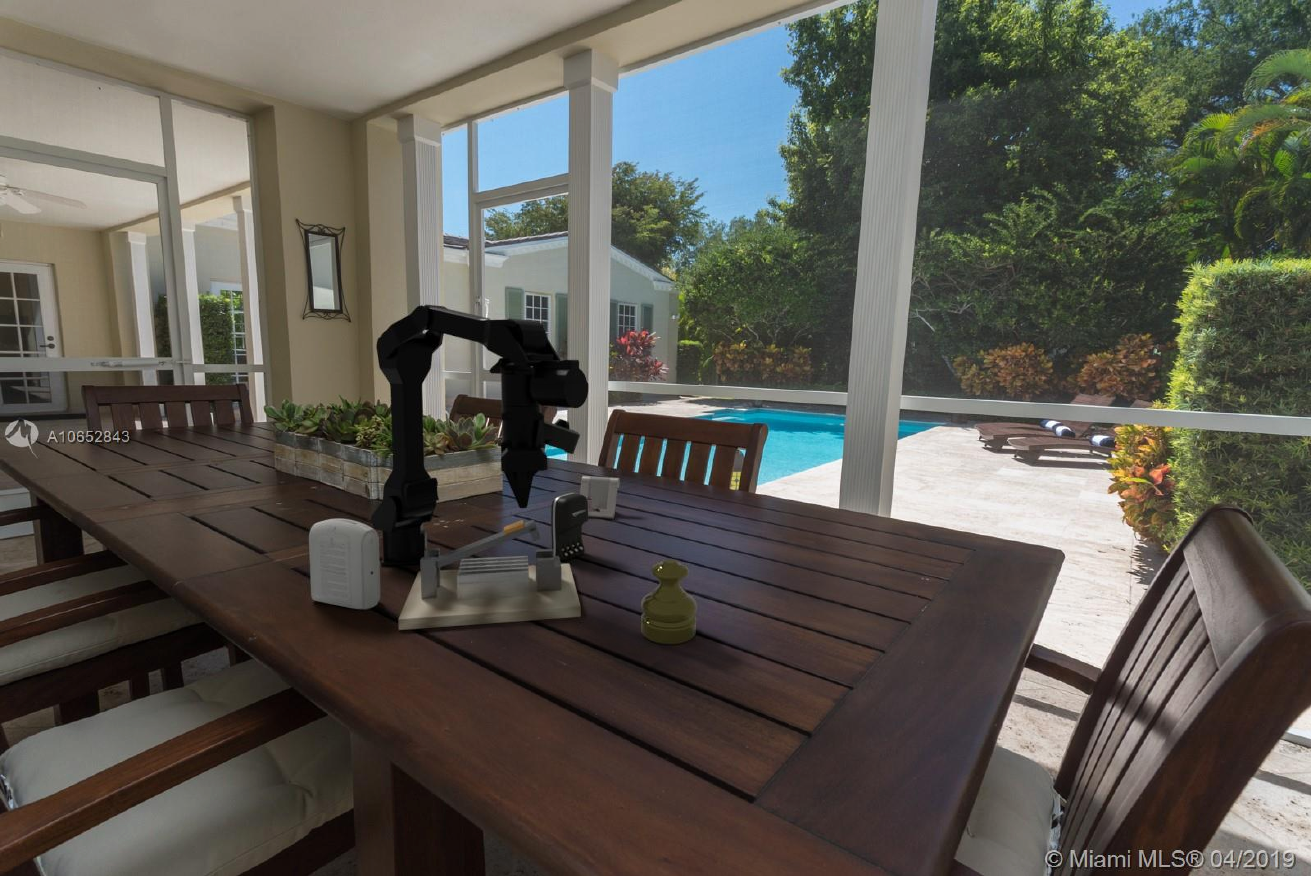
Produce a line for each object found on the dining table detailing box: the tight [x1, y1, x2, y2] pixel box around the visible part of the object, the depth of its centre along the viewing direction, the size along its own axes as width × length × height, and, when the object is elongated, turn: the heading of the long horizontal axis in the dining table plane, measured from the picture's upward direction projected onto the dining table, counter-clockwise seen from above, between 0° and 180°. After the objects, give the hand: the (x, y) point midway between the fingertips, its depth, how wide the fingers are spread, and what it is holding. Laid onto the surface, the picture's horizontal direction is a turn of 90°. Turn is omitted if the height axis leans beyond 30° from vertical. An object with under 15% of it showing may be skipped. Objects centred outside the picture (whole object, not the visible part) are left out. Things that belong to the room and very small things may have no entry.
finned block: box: [457, 555, 529, 601], centre depth 92 cm, size 10×8×4 cm
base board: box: [398, 563, 582, 631], centre depth 92 cm, size 24×18×2 cm
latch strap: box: [436, 519, 541, 569], centre depth 91 cm, size 17×2×3 cm, turn 103°
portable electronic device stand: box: [579, 475, 621, 519], centre depth 141 cm, size 9×8×8 cm
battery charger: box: [550, 492, 589, 561], centre depth 111 cm, size 7×4×11 cm, turn 148°
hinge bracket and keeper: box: [419, 547, 562, 599], centre depth 92 cm, size 20×5×6 cm, turn 103°
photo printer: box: [308, 518, 381, 610], centre depth 89 cm, size 10×4×12 cm, turn 73°
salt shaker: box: [640, 558, 698, 645], centre depth 81 cm, size 7×8×10 cm
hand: (523, 507), depth 93 cm, fingers closed
